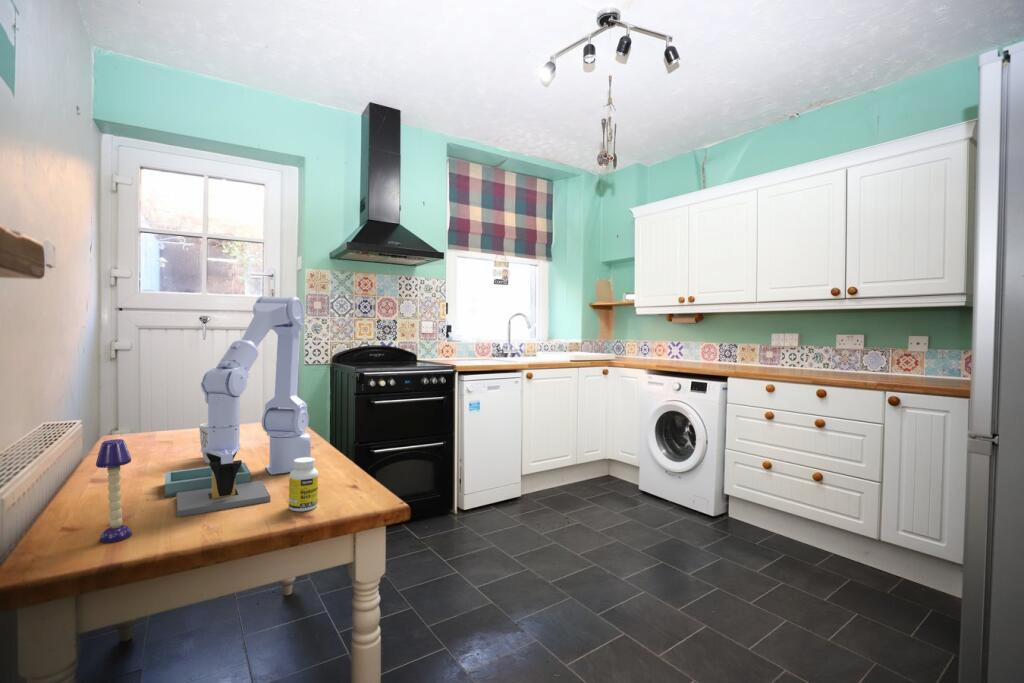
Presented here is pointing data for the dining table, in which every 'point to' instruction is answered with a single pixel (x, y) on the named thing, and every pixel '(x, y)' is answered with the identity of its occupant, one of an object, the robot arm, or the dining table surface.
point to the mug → (204, 439)
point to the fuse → (215, 491)
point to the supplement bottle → (303, 485)
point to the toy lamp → (114, 487)
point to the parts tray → (197, 479)
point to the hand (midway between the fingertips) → (223, 490)
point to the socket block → (221, 499)
